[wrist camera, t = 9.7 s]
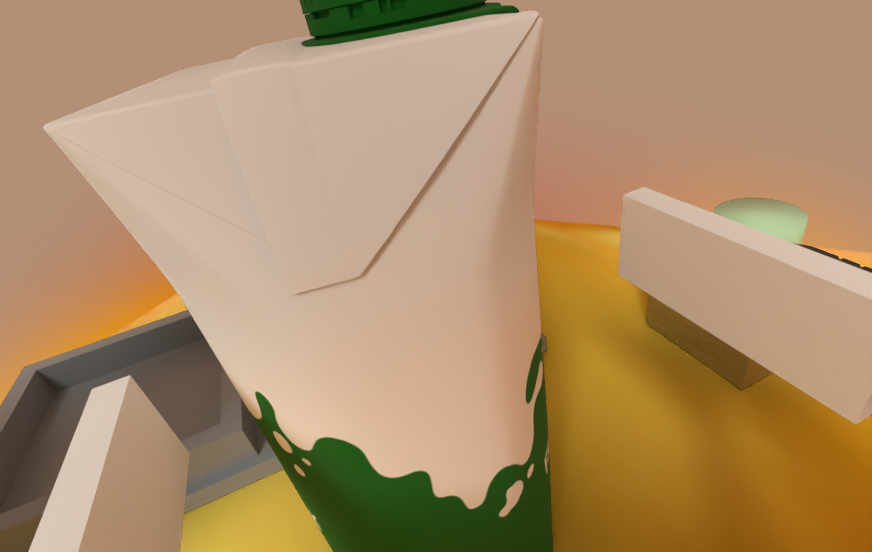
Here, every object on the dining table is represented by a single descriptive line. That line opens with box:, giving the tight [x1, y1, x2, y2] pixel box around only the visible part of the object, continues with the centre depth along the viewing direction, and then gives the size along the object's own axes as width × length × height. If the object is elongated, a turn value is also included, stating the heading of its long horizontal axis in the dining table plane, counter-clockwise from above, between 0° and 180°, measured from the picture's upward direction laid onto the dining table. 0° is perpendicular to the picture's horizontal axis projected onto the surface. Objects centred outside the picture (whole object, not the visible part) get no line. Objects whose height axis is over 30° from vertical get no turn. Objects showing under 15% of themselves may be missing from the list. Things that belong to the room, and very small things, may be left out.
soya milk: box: [43, 0, 553, 552], centre depth 14 cm, size 9×9×20 cm
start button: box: [713, 198, 808, 244], centre depth 21 cm, size 4×4×2 cm
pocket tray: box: [0, 310, 547, 552], centre depth 27 cm, size 30×14×3 cm, turn 113°
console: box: [646, 295, 773, 390], centre depth 23 cm, size 6×6×4 cm
